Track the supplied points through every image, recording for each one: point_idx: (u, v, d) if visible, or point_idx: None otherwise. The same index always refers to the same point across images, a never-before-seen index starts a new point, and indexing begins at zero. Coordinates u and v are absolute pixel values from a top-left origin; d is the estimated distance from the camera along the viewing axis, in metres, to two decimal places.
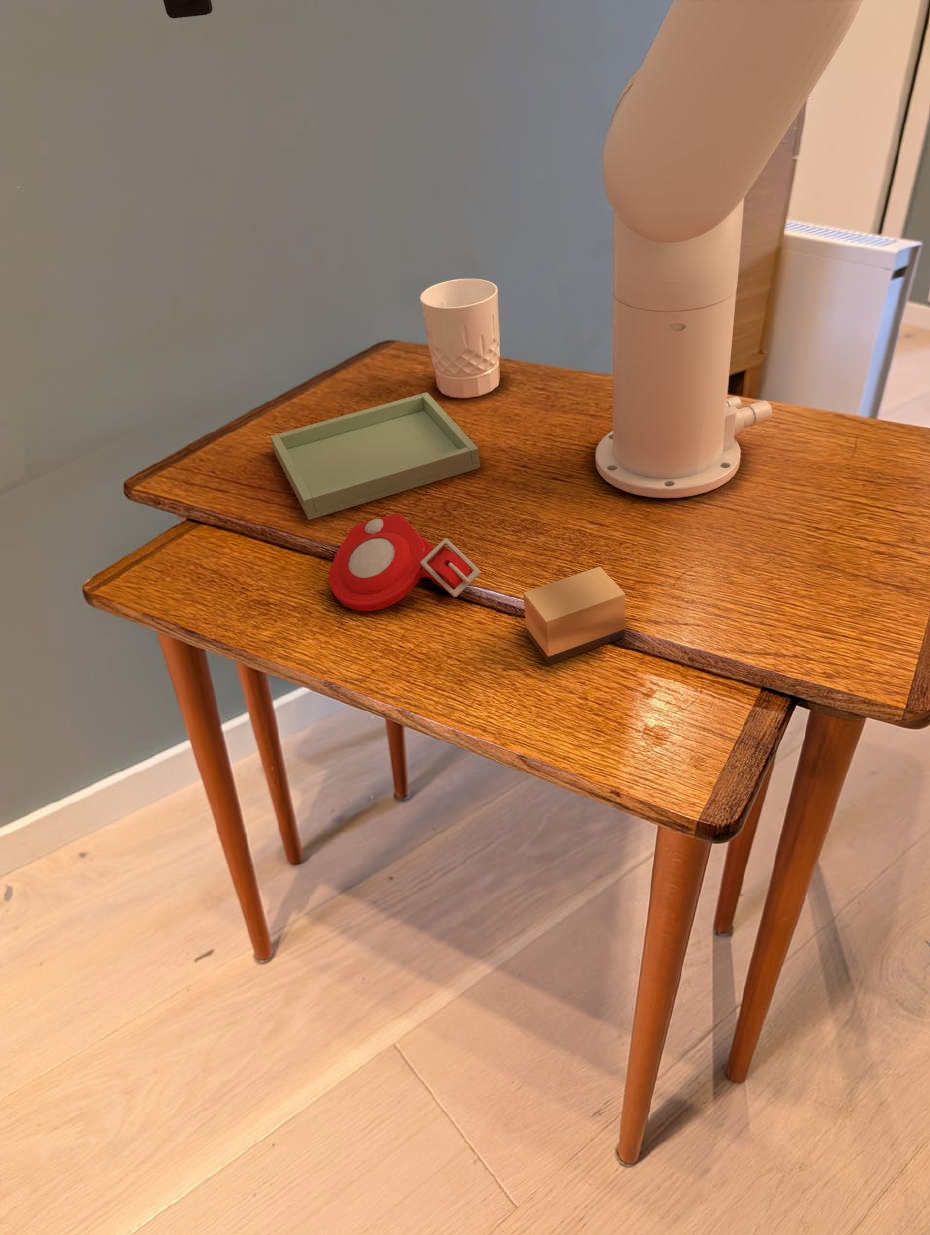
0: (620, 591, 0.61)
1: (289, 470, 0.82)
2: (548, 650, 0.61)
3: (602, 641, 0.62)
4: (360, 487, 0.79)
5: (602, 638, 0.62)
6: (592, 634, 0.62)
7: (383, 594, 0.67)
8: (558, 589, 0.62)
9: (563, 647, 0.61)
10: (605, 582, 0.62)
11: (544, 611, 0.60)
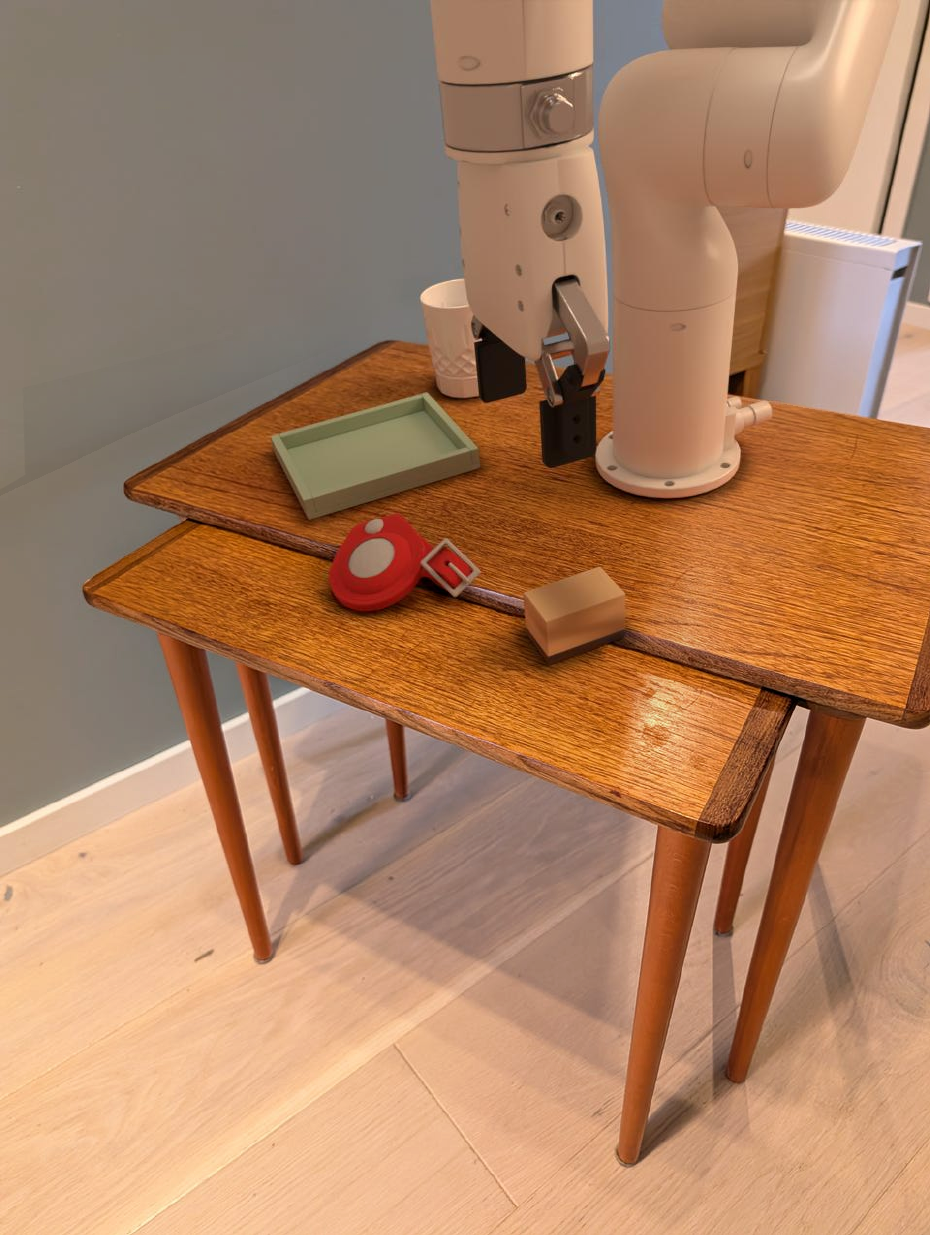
0: (620, 591, 0.61)
1: (289, 470, 0.82)
2: (548, 650, 0.61)
3: (602, 641, 0.62)
4: (360, 487, 0.79)
5: (602, 638, 0.62)
6: (592, 634, 0.62)
7: (383, 594, 0.67)
8: (558, 589, 0.62)
9: (563, 647, 0.61)
10: (605, 582, 0.62)
11: (544, 611, 0.60)
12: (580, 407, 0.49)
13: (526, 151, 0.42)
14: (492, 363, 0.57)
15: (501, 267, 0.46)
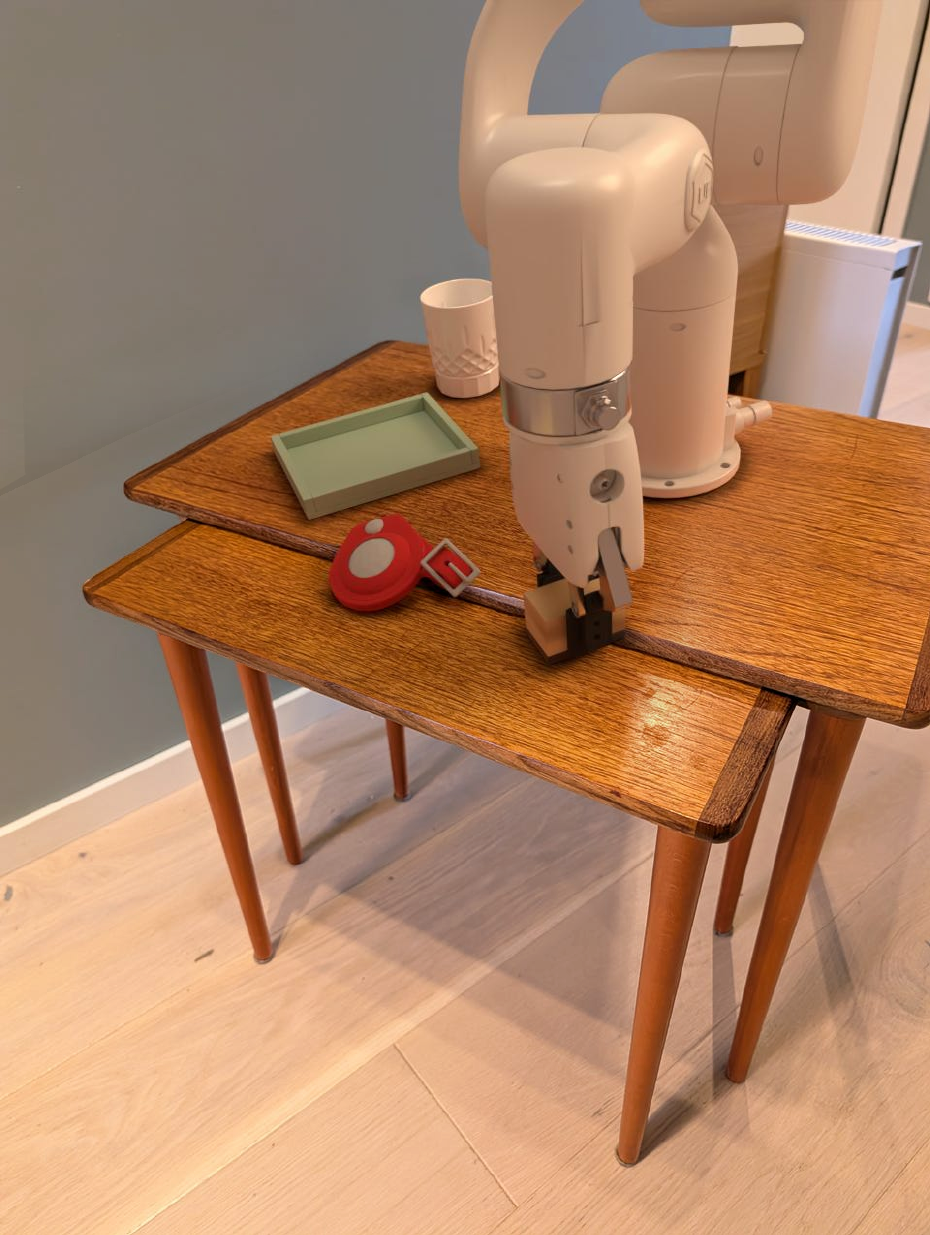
0: None
1: (289, 470, 0.82)
2: (548, 650, 0.61)
3: None
4: (360, 487, 0.79)
5: None
6: None
7: (383, 594, 0.67)
8: (558, 589, 0.62)
9: (563, 647, 0.61)
10: None
11: (544, 611, 0.60)
12: (599, 615, 0.59)
13: (577, 437, 0.49)
14: None
15: (552, 515, 0.53)
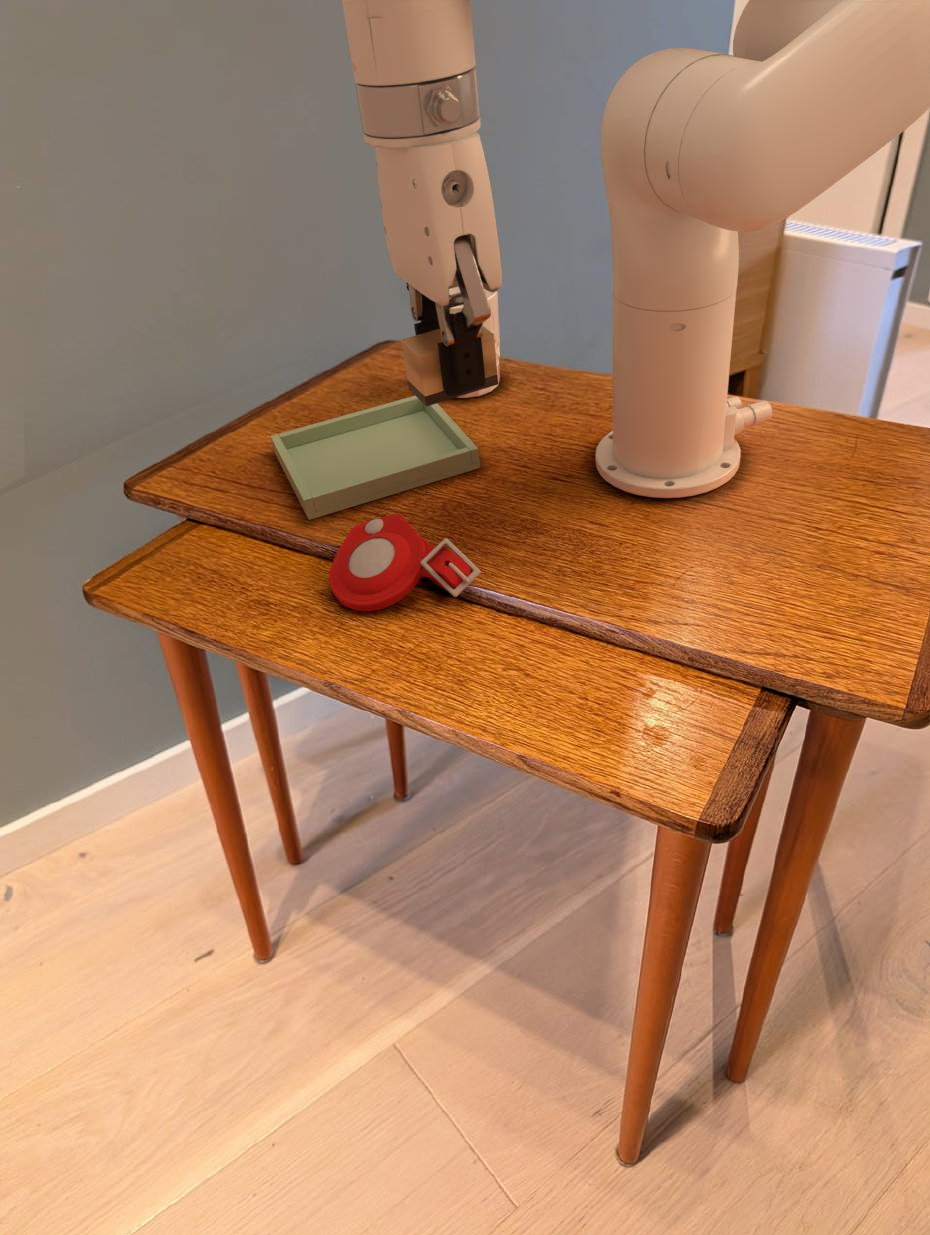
0: (489, 332, 0.66)
1: (289, 470, 0.82)
2: (424, 388, 0.65)
3: None
4: (360, 487, 0.79)
5: None
6: None
7: (383, 594, 0.67)
8: (433, 335, 0.66)
9: (439, 387, 0.66)
10: None
11: (418, 349, 0.65)
12: (468, 346, 0.63)
13: (426, 137, 0.54)
14: None
15: (413, 230, 0.58)
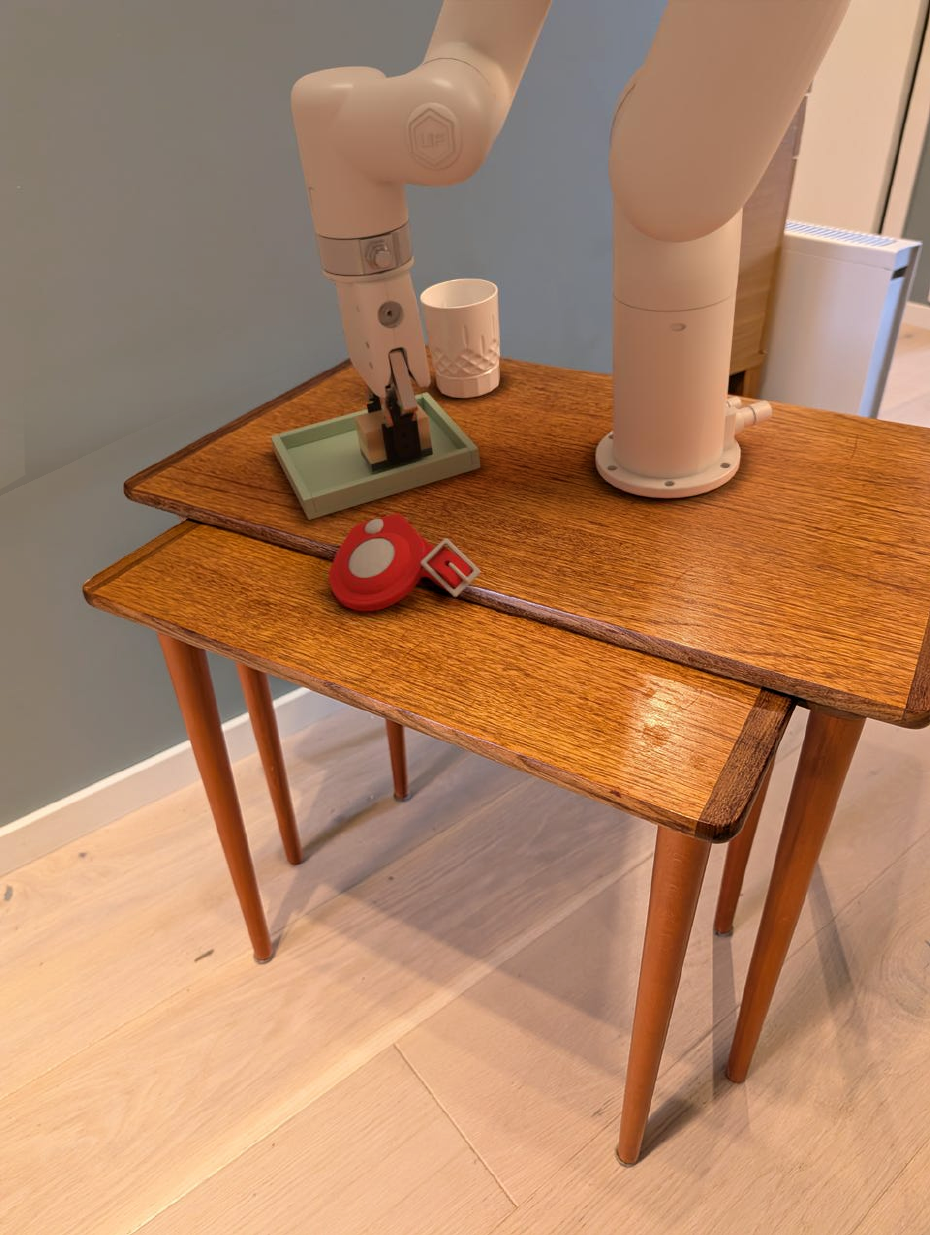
0: (425, 414, 0.81)
1: (289, 470, 0.82)
2: (370, 458, 0.81)
3: None
4: (360, 487, 0.79)
5: None
6: None
7: (383, 594, 0.67)
8: (380, 414, 0.82)
9: (382, 457, 0.82)
10: None
11: (366, 427, 0.80)
12: (405, 427, 0.79)
13: (366, 276, 0.70)
14: None
15: (359, 341, 0.74)
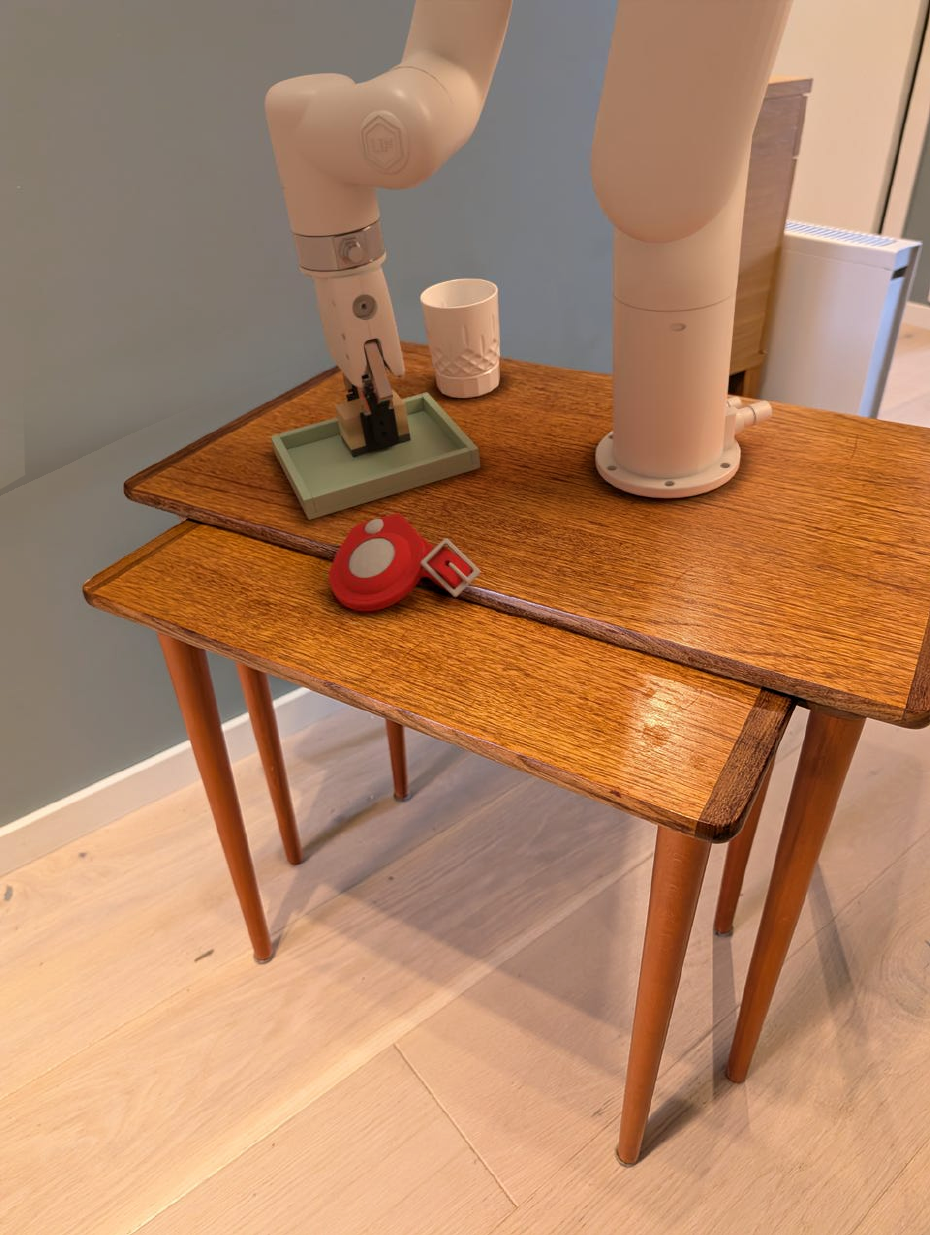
0: (402, 401, 0.85)
1: (289, 470, 0.82)
2: (350, 444, 0.85)
3: None
4: (360, 487, 0.79)
5: None
6: None
7: (383, 594, 0.67)
8: (359, 402, 0.86)
9: (362, 443, 0.85)
10: (393, 397, 0.86)
11: (345, 414, 0.84)
12: (383, 415, 0.83)
13: (340, 271, 0.74)
14: None
15: (336, 333, 0.78)
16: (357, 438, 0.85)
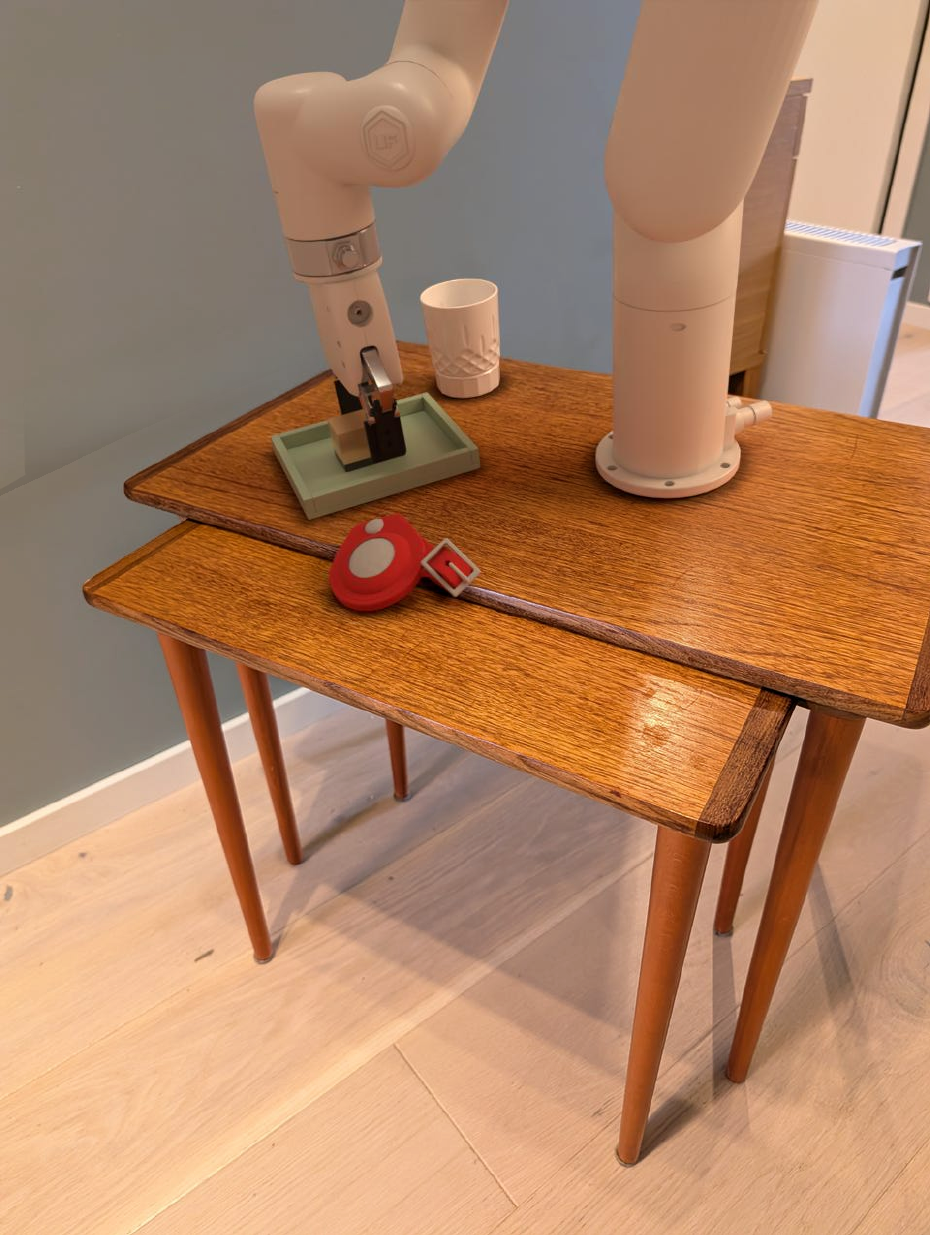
0: None
1: (289, 470, 0.82)
2: (343, 459, 0.83)
3: None
4: (360, 487, 0.79)
5: None
6: None
7: (383, 594, 0.67)
8: (352, 416, 0.84)
9: (355, 458, 0.83)
10: None
11: (338, 428, 0.82)
12: (388, 424, 0.78)
13: (335, 276, 0.71)
14: (347, 394, 0.86)
15: (331, 341, 0.75)
16: (350, 453, 0.83)
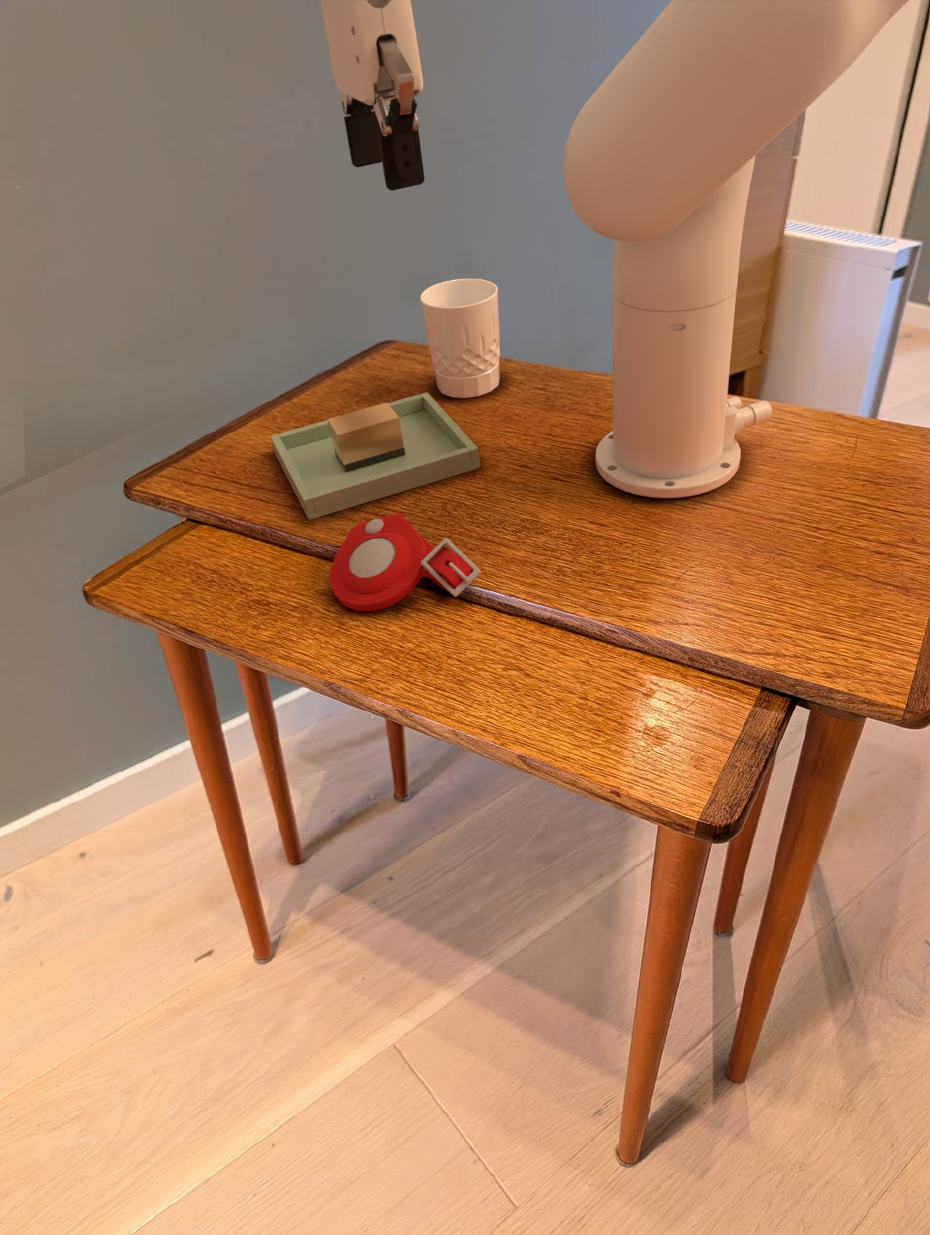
0: (396, 415, 0.83)
1: (289, 470, 0.82)
2: (343, 459, 0.83)
3: (387, 456, 0.85)
4: (360, 487, 0.79)
5: (386, 453, 0.84)
6: (377, 449, 0.84)
7: (383, 594, 0.67)
8: (352, 416, 0.84)
9: (355, 458, 0.83)
10: (387, 411, 0.84)
11: (338, 428, 0.82)
12: (406, 138, 0.70)
13: None
14: (358, 133, 0.78)
15: (344, 33, 0.68)
16: (350, 453, 0.83)
